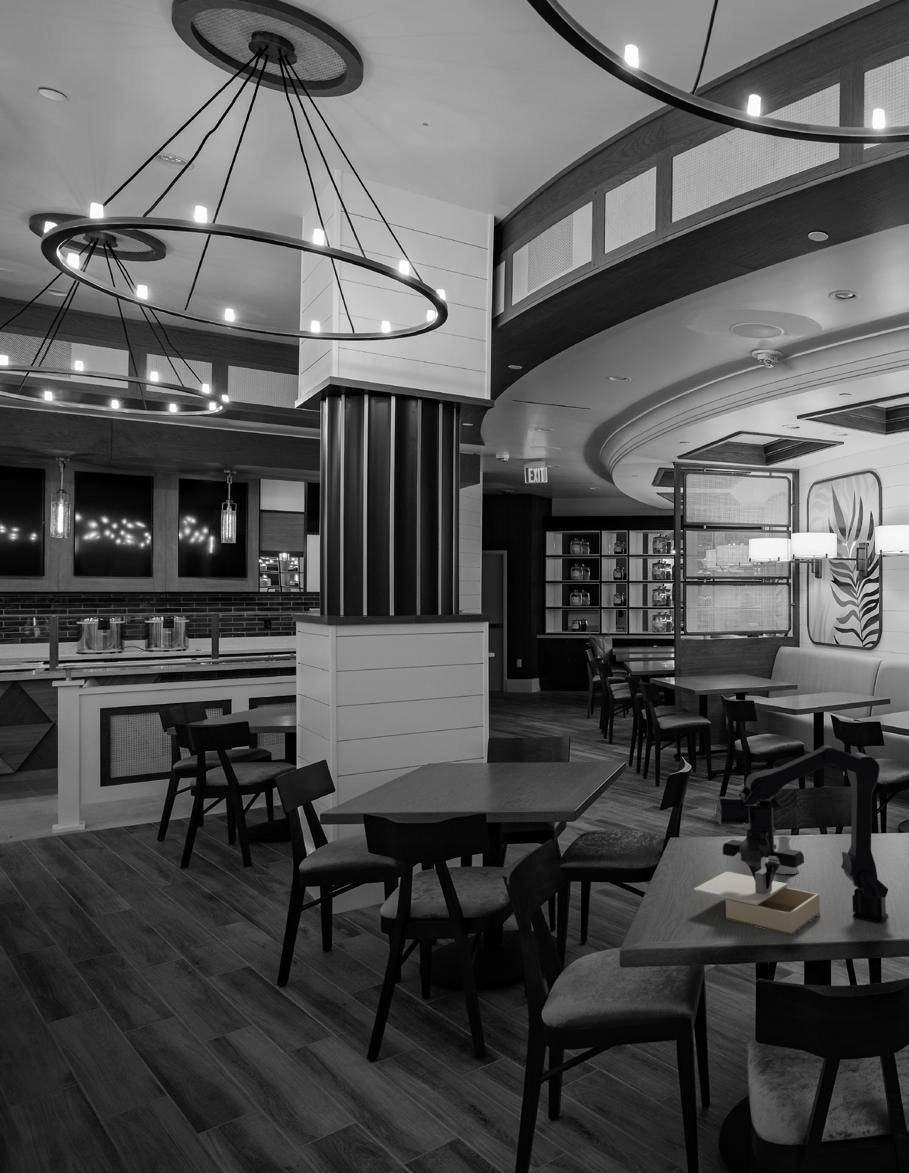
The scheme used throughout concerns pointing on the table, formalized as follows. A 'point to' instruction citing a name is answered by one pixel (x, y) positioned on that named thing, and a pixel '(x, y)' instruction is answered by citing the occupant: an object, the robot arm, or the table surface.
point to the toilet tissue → (740, 863)
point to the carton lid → (741, 887)
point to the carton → (777, 911)
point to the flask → (782, 846)
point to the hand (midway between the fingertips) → (763, 887)
